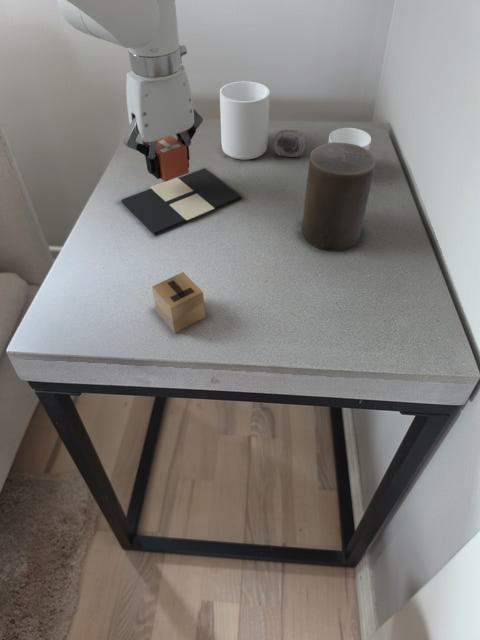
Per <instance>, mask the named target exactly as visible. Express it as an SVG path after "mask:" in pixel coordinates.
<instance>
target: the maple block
mask: <svg viewBox="0 0 480 640" xmlns="http://www.w3.org/2000/svg"><path fill="white" fill-rule="evenodd" d="M151 290H152V295H153V300H154V305H155V310H156V313H157V315H159V317H160V318H161V319H162V320H163V322H164V323H165V324H166V325H167V326H168V327H169V329H171V331H172V332H173V333H175V334H176V333H178V332H180V331H182V330H183V329H185V328H187V327H189V326H191V325H194V324H195V323H197V322H199V321H201V320H203V319H205V318H206V312H205V311H206V310H205V299H204V291H203V290H202V289H201V288H200V287H199V286H198V285H197V284H196V283H195V282H194V281H193V280H192V279H191V278H190V277H189V276H188V275H187V274H186V273H185V272H184V271H182V272H180V273H177V274H176V275H173V276H171V277H169V278H167V279H164V280H163V281H161V282H158V283H157V284H154V285H152V286H151Z"/></svg>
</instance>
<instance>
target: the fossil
mask: <svg viewBox="0 0 480 640" xmlns="http://www.w3.org/2000/svg"><path fill="white" fill-rule="evenodd" d="M272 145H273V149H274V151H275V153H276V155H278V156H279V157H280V156H281V157H287V158H288V157H289V158H294V157H296V158H297V157H301V156H302V155H303V153H304V151H305V148H306V140H305V137H304V134H303V133H302V132H301V131H299V130H291V129H290V130H286V129H284V130H279V131H278V132H277V133H275V135H274V137H273V139H272Z"/></svg>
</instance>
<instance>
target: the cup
mask: <svg viewBox="0 0 480 640" xmlns="http://www.w3.org/2000/svg"><path fill="white" fill-rule="evenodd" d="M330 142H334V143H335V142H337V143H349V144H354V145H358V146H360V147H363V148H365V149H366V150H368V151H370V149H371V146H372V136H371V135H370V134H369V133H368V132H367V131H364V130H363V129H359V128H355V127H341V128H336V129H334V130H332V131H331V132H330V133H329V135H328V141H327V143H330Z"/></svg>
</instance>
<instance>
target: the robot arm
mask: <svg viewBox="0 0 480 640" xmlns="http://www.w3.org/2000/svg"><path fill="white" fill-rule="evenodd" d="M56 1H57V5H58V9H59V11H60V14H61V15H62V16H63V18H64V20H65V21H66V22H67V23H68V24H69V25H70V26H72V27H73V28H75V29H76V30H77V31H79V32H81V33H83V34H86V35H89V36H92V37H94V38H97V39H99V40H103V41H106V42H109V43H112V44H115V45H117V46H119V47H122V48H124V49H127V51H128V57H129V64H130V70H131V71H128V72H127V73H126V91H125V92H126V104H127V105H126V106H127V115H128V116H127V117H128V123H129V127H128V129H127V131H126V133H125V136H124V138H123V140H122V141H123V144H124V145H125V146H126V147H128V148H130V149H132V150H134V151H137V152H139V153H140V154H141V155H144V158H145V164H146V170H147V172H148V173H149V174H150V175H152V176H153V177H154V178H155V179H157V180H161V171H160V164H159V158H158V157H157V156H156V155H155V154H156V145H157V140H160V139H163V138H166V137H169V136H174V135H175V136H176V137H175V138H176V139H177V140H178V141H179V142H181V143H182V144H183V145H185V146H186V147H187V158H188V168H190V162H189V161H190V159H191V158H190V148H189V147H190V146H191V145H192V139H193V138H194V135H195V134H196V133H197V130H198V129H199V127H200V126H201V124H202V123H203V122H204V117H203V116H202V115H200V113H198V112H197V111H196V109H195V108H194V103H193V102H194V101H193V97H192V91H191V87H190V86H191V85H190V82H189V78H188V74H187V70H186V68H185V66H184V65H183V64H182V63H183V61H182V57H183V56H186V55H187V54H188V51H187V47H186V45H183V44H182V45H180V39H179V28H178V18H177V16H178V15H177V7H176V0H56ZM138 135H140V137H141V142H139V141H138V140H137V138H138Z"/></svg>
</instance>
